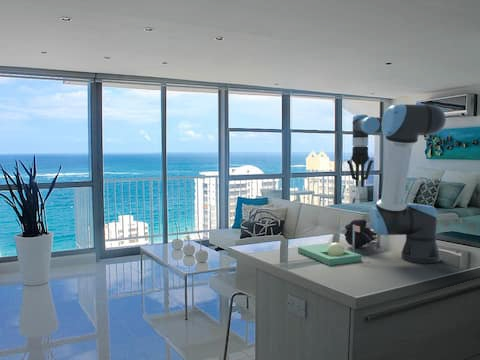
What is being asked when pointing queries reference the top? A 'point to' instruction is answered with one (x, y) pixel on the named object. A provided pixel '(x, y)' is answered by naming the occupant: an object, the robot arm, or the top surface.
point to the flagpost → (355, 228)
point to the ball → (335, 250)
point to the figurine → (359, 233)
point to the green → (322, 255)
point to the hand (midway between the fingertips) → (359, 193)
